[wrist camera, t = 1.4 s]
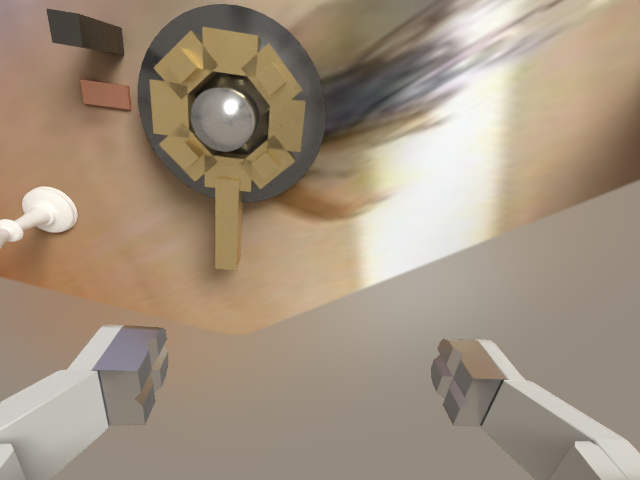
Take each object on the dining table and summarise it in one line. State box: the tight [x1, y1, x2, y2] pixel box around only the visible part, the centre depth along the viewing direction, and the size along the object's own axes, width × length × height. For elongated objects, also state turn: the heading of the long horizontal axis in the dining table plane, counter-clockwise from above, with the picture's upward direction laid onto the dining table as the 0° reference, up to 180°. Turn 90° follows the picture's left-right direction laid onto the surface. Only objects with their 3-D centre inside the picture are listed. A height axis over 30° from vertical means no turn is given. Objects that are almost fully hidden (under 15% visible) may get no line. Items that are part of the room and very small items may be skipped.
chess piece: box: [0, 187, 78, 248], centre depth 30 cm, size 5×5×10 cm
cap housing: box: [47, 4, 326, 203], centre depth 27 cm, size 22×16×8 cm
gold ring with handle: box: [149, 27, 306, 270], centre depth 28 cm, size 20×12×3 cm, turn 172°
